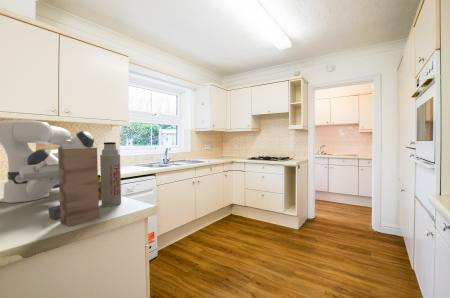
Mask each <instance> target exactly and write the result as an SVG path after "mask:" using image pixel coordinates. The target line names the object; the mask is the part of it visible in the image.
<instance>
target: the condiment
mask: <svg viewBox="0 0 450 298" xmlns="http://www.w3.org/2000/svg"><path fill="white" fill-rule="evenodd" d="M98 198H99V200H101V174H98Z"/></svg>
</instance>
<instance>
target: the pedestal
mask: <svg viewBox="0 0 450 298" xmlns="http://www.w3.org/2000/svg"><path fill="white" fill-rule="evenodd" d="M57 149H58V164H59V189H58V190H59V205H60V219H59V220H60V224H62V225H64V226H66V227H72V226H76V225H79V224H82V223H85V222H89V221H93V220H97V219H99V218H100V208H99V207H100V203H99V198H98V175H99V172H98V171H99V170H98V169H99V167H98V166H99V165H98V147H91V148H58V147H57Z"/></svg>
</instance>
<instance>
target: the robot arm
mask: <svg viewBox="0 0 450 298" xmlns="http://www.w3.org/2000/svg"><path fill="white" fill-rule="evenodd" d="M94 143H95V137H94V136H93V135H92V134H91V133H90V132H88V131H86V130H80V131H79V132H77V133H76V134H75V135H74V136H72V133H71V132H70V131H69V130H68V129H66V128H63V127H60V126H55V125H51V124H49V122H45V121H41V120H33V119H32V120H31V119H29V120H28V119H27V120H24V119H23V120H22V119H21V120H14V119H13V120H12V119H11V120H2V121H0V145H1V146H2V147H3V149H4V151H5V153H6V156H7V157H6V158H7V164H8V171H7V175H6V177H7V181H6V182H5V183H3V198H0V202H1V203H2V202H3V203H11V204H12V203H23V202H24V203H26V202H31V201H36V200H40V199H45V198H49V197H50V192H51V190H52V189H58V188H59V164H58V148H94ZM29 144H39V145H49V146H58V147H57V149H43V148H42V149H37V150H36V151H34V150H33V149H31V148H30V146H29Z"/></svg>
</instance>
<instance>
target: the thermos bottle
mask: <svg viewBox="0 0 450 298" xmlns="http://www.w3.org/2000/svg"><path fill="white" fill-rule="evenodd" d="M116 144H117V143H116V142H115V141H114V142H113V141H110V142H109V141H106V142H103V148H102V149H101V154H100V155H99V158H100V159H99V162H100V163H99V165H100V176H101V206H103V207H113V206H117V205H120V204H121V203H122V184H121V183H122V178H121V174H122V173H121V154H119V149H118V148H117V145H116Z"/></svg>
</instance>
